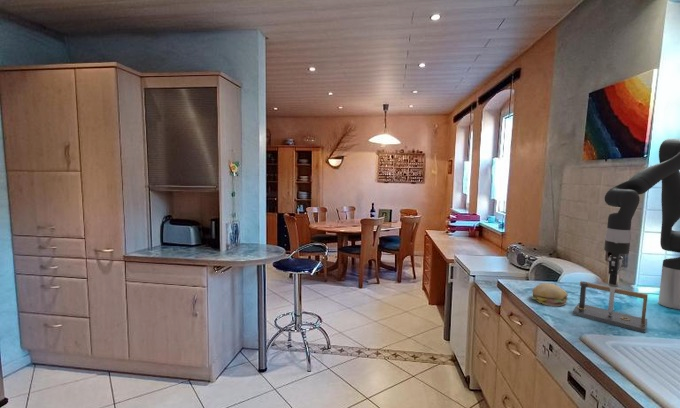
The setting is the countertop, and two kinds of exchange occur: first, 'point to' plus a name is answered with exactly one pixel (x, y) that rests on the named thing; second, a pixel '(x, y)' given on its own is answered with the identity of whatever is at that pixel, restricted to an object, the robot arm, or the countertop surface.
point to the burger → (549, 294)
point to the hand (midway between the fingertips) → (613, 283)
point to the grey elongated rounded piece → (612, 295)
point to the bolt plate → (616, 317)
